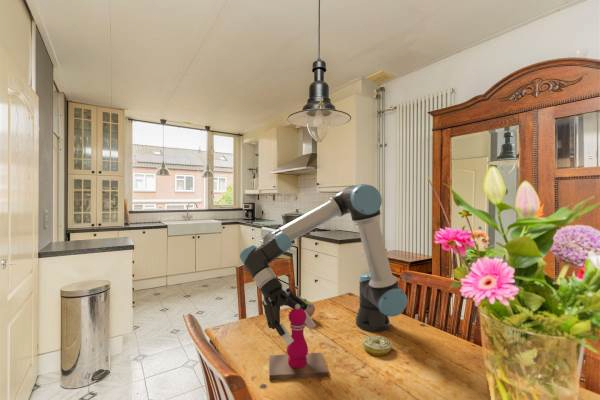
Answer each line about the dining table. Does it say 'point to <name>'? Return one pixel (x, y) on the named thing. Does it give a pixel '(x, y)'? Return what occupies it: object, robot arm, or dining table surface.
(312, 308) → the decorative fruit
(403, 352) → the dining table surface
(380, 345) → the decorated donut
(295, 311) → the pepper mill
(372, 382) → the dining table surface
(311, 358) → the walnut stand
